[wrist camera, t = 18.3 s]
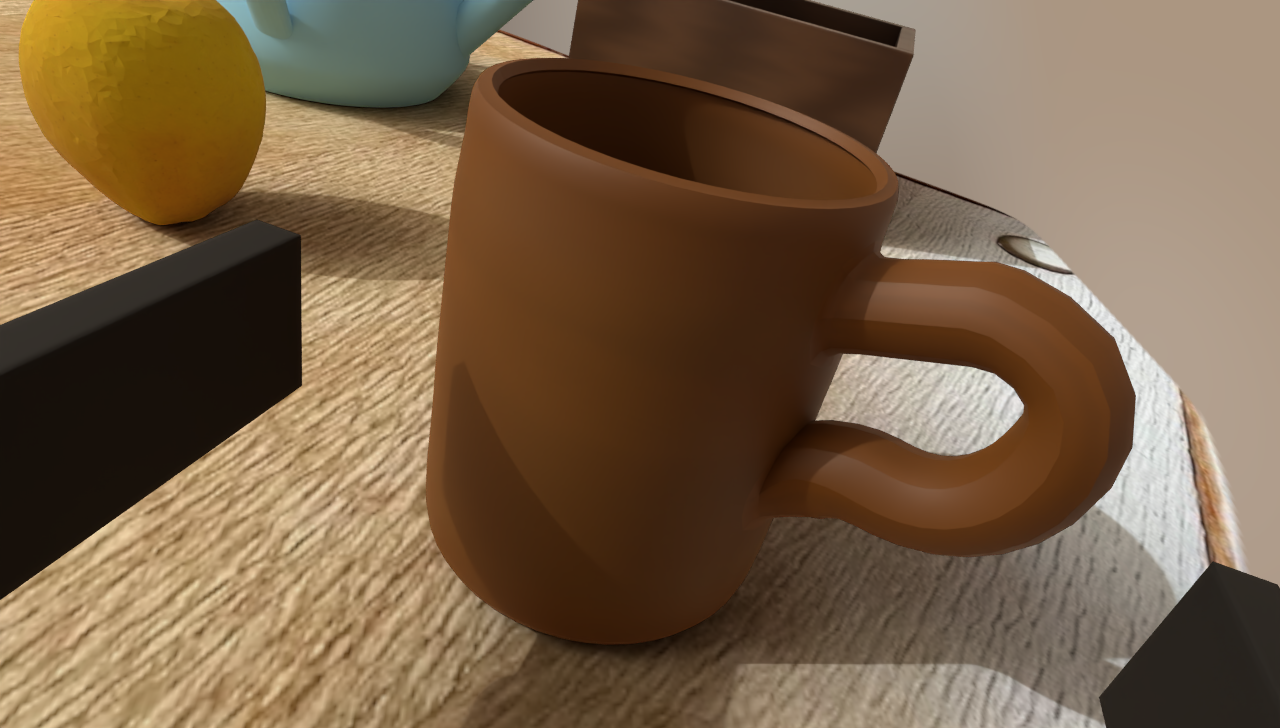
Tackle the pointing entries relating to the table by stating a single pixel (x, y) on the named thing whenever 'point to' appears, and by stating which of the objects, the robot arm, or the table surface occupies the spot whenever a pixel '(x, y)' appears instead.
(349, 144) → the table surface
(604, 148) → the mug
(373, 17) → the teapot
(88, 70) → the apple
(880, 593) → the table surface
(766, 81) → the chest
